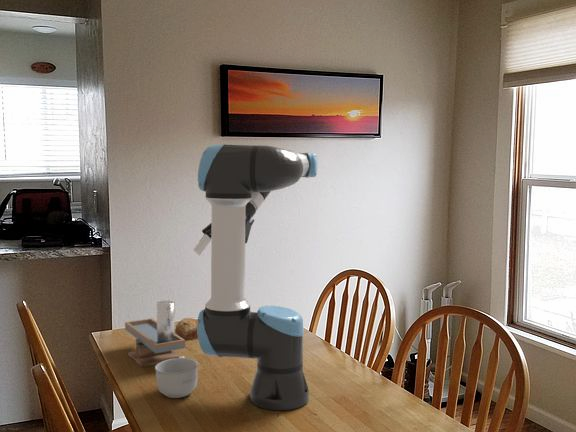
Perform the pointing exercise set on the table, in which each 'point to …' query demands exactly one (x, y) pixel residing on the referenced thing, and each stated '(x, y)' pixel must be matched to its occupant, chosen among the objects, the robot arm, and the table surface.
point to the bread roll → (187, 329)
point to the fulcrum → (150, 355)
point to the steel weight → (165, 322)
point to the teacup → (176, 377)
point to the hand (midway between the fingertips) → (209, 255)
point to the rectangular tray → (152, 336)
